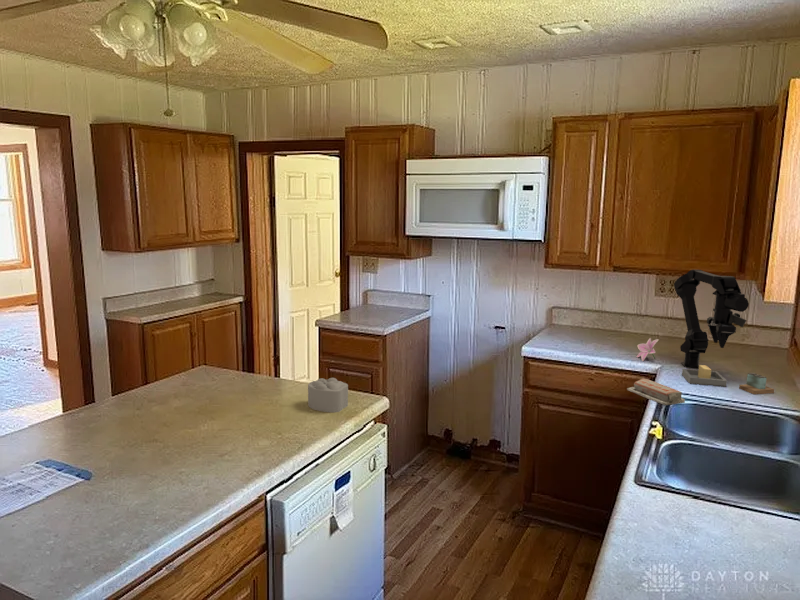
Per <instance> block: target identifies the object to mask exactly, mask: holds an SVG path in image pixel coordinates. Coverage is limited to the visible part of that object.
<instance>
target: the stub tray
mask: <svg viewBox="0 0 800 600" xmlns="http://www.w3.org/2000/svg"><path fill="white" fill-rule="evenodd" d="M698 371H699V369H693V368H692V369H690V368H689V369H688V368H682V371H681V375H682V376H683V378H684V379H685V380H686V382H687V383H688V384H689V383H690V385H697V384H699V385H700V386H708V385H713V386H712V387H720V386H721V388H722V387H723V388H727V383H728V380H727V379H726V378H725V377H724V376H723V375H722V374H720V372H719V371H717V370H711V378H710V379H708V378H698Z"/></svg>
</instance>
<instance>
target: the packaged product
mask: <svg viewBox="0 0 800 600" xmlns="http://www.w3.org/2000/svg"><path fill="white" fill-rule="evenodd" d="M626 391H629V392H631V393H634V394H636V395H638V396H641V397H643V398H646V399H648V400H651V401H654V402H655V401H656V402H655V403H658V404H661V405H663V406H671V405H675V404H676V405H677V404H683V403H685V401H686V399H685V398H683V397H682V395H683V393H682V391H680V390H678V389H676V388H672V387H670V386H667V385H664V384H662V383H658V382H656V381H653V380H650V379H648V378H640V379H639V380H636V381H635V382H634V383H633V386H631V387H627V388H626Z"/></svg>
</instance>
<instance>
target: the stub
mask: <svg viewBox="0 0 800 600" xmlns="http://www.w3.org/2000/svg"><path fill="white" fill-rule="evenodd" d="M698 370H699V371H698V378H708V379H710V378H711V371H712V369H711V368H710V367H709V366H708V365H704V364H703V365H702V364H699V368H698Z"/></svg>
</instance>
